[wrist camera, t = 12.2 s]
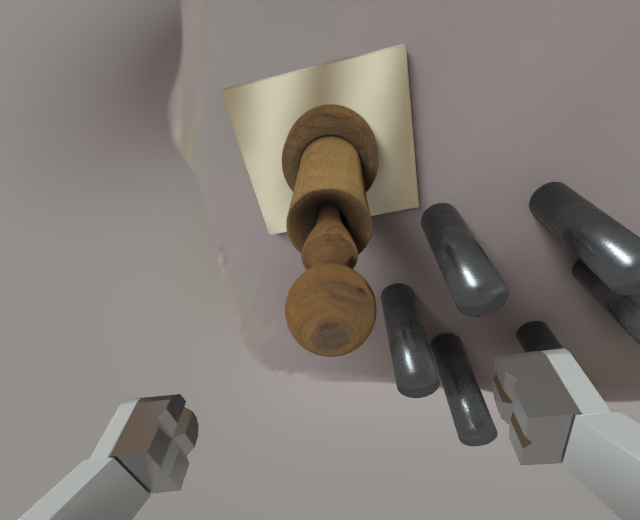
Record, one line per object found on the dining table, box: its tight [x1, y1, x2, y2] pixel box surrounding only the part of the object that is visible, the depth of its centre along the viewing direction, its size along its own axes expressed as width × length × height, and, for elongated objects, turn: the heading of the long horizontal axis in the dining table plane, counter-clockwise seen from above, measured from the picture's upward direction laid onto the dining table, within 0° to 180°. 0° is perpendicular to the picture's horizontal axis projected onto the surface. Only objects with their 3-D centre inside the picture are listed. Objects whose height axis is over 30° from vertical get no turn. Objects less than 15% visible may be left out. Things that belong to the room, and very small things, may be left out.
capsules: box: [381, 182, 640, 446], centre depth 29 cm, size 20×18×10 cm
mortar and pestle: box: [282, 104, 379, 357], centre depth 19 cm, size 7×6×18 cm
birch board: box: [221, 44, 419, 235], centre depth 27 cm, size 12×11×1 cm
